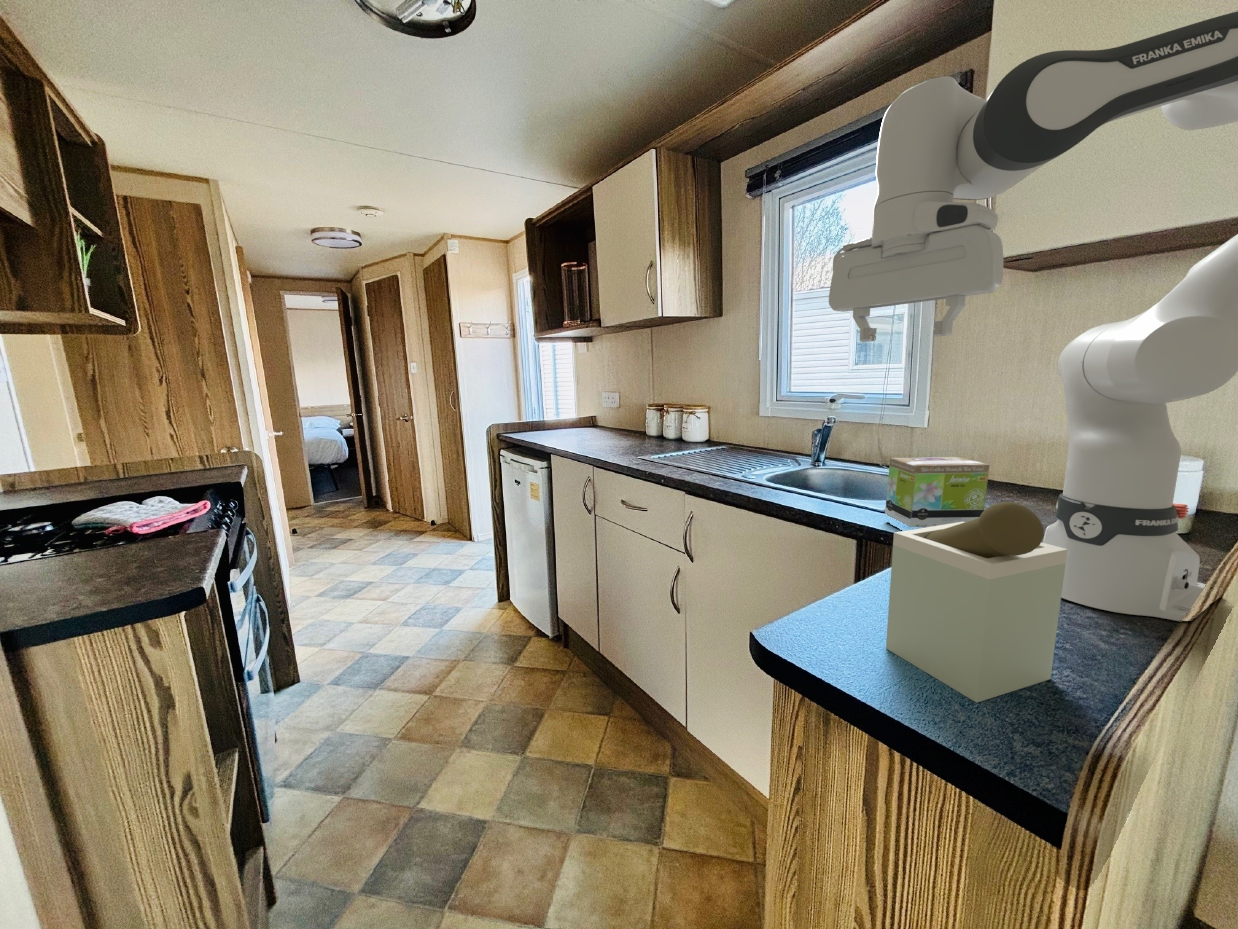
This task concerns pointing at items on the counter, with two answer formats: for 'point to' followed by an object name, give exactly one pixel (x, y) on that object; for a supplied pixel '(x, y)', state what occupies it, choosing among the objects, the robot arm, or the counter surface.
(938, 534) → the cork
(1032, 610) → the open top box
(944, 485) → the tea box
